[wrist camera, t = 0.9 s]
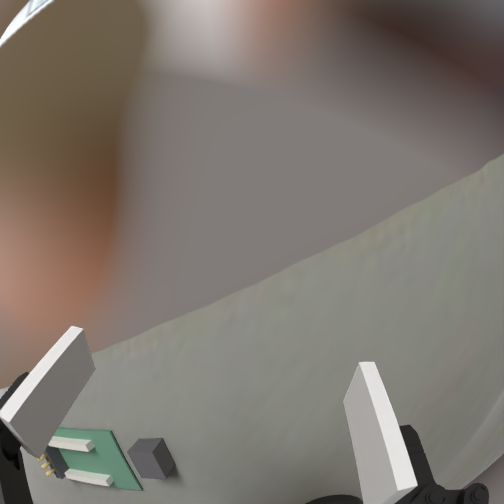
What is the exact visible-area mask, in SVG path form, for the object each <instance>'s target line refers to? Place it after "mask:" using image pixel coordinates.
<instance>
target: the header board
mask: <svg viewBox="0 0 504 504" xmlns="http://www.w3.org/2000/svg"><path fill="white" fill-rule="evenodd" d="M44 458H46V460H47V462H46V463H45V464H43V465H42V466H41V467H42V469H45V468H46V467H48V466H49V465H50V467H51V468H52V469H50V470H49V471H48V472H46V473H45V474H46V475H47V476H49V475H51V474H52V473H53V472H54V473H55V475H56V477H57V478H61V479H63V478H64V477H65V476H66V477H67V478H68V479H72V480H76V481H81V482H86V483H91V484H96V485H102V486H109V487H116V488H124V489H133V490H142V487H141V485H140V484H139V482H138V481H137V479H136V477H135V475H134V474H133V472H132V470H131V468H130V467H129V465H128V463H127V461H126V459H125V457H124V456H123V454H122V452H121V450H120V448H119V446H118V444H117V442H116V440H115V438H114V436H113V434H112V431H111V430H83V429H68V428H58V429H57V430H56V432H55V434H54V435H53V437H52V439H51V440H50V442H49V444H48V446H47V447H46V449H45V451H44V453H43V455H42V456H41V458H40V460H39V459H38V458H37V460H38V461H39V462H40V461H41V460H43V459H44Z"/></svg>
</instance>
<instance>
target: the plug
mask: <svg viewBox="0 0 504 504" xmlns="http://www.w3.org/2000/svg"><path fill="white" fill-rule="evenodd" d="M127 452H128V454H129V456H130V458H131V460H132V462H133V464H134V466H135V467H136V469H137V471H138V473H139V474H140V476H141V478H153V479H166V478H167V477H168V475H169V473H170V472H171V470H172V468H173V467H174V465H175V463H174V461H173V459H172V457H171V455H170V453H169V451H168V449H167V446H166V444H165V442H164V440H163V438H155V439H138V441H137V442H136V443H135V444H134V445H133V446H132V447H131V448H130V449H129V450H128V451H127Z"/></svg>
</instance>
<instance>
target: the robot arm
mask: <svg viewBox="0 0 504 504" xmlns="http://www.w3.org/2000/svg"><path fill="white" fill-rule="evenodd" d="M94 371H95V366H94V363H93V360H92V357H91V354H90V350H89V347H88V344H87V341H86V337H85V333H84V330H83V329H81V328H78V327H74V326H71V327H70V328H69V329H68V331H67V332H66V333H65V334H64V335H63V336H62V337H61V338H60V339H59V341H57V343H56V344H55V345H54V346H53V347H52V348H51V349H50V350H49V352H48V353H47V354H46V355H45V356H44V357H43V358H42V360H41V361H40V362H39V363H38V364H37V366H36V367H35V368H34V369H33V370H32V371H31V373H28V372H25V373H24V374H22V375H21V376H19V377H18V378H17V379H16V380H15V382H14V383H13V385H11V386H10V388H9V389H8V391H6V393H5V394H4V395H3V396H2V398H1V399H0V504H33V501H32V498H31V494H30V490H29V486H28V482H27V478H26V473H25V468H24V463H23V458H22V453H21V450H20V447H21V445H22V447H23V448H24V449H25V450H26V451H27V452H28V453H29V454H31V455H33V456H34V457H36V458H38V459H39V460H40V458H41V456H42V454H43V453H44V451H45V449H46V447H47V446H48V444H49V442H50V440H51V439H52V437H53V435H54V434H55V432H56V430H57V429H58V427H59V425H60V424H61V422H62V420H63V419H64V417H65V416H66V414H67V412H68V411H69V409H70V408H71V406H72V404H73V403H74V401H75V400H76V398H77V397H78V395H79V393H80V392H81V390H82V389H83V387H84V386H85V384H86V383H87V381H88V380H89V378H90V377H91V375H92V374H93V372H94ZM343 402H344V407H345V411H346V416H347V420H348V425H349V429H350V434H351V439H352V444H353V449H354V454H355V459H356V464H357V469H358V475H359V480H360V486H361V492H362V497H363V501H362V500H360V499H359V498H357V497H354V496H349V495H333V496H327V497H322V498H319V499H316V500H313V501H311V502H308V503H306V504H488V501H489V493H488V490H487V487H486V486H485V485H483V484H481V483H474V484H472V485H470V486H469V487H468V488H466V489H463V490H445V488H444V487H442V486H440V485H437V484H436V483H435V481H434V479H433V476H432V473H431V470H430V467H429V464H428V461H427V458H426V455H425V453H424V450H423V447H422V445H421V442H420V439H419V436H418V434H417V432H416V431H415V430H414V429H413V428H412V427H411V425H404V426H398V423H397V420H396V417H395V415H394V412H393V409H392V406H391V404H390V401H389V398H388V396H387V393H386V391H385V388H384V385H383V383H382V380H381V378H380V375H379V373H378V370H377V368H376V365H375V363H374V362H359V364H358V366H357V369H356V371H355V374H354V376H353V379H352V381H351V384H350V386H349V389H348V391H347V393H346V396H345V398H344V400H343Z"/></svg>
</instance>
